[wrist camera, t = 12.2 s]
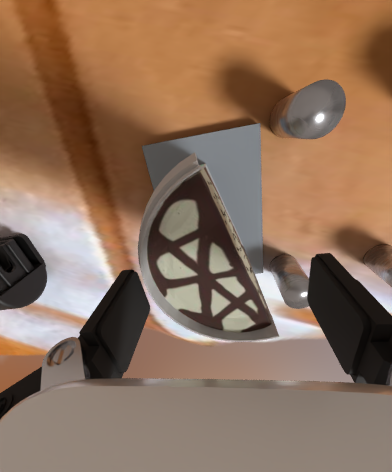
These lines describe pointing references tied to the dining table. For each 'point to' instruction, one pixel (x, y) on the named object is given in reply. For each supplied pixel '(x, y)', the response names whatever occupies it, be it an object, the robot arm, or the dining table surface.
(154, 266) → the food container
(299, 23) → the dining table surface
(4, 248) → the end cap
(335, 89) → the spacers
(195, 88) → the dining table surface
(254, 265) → the pad
